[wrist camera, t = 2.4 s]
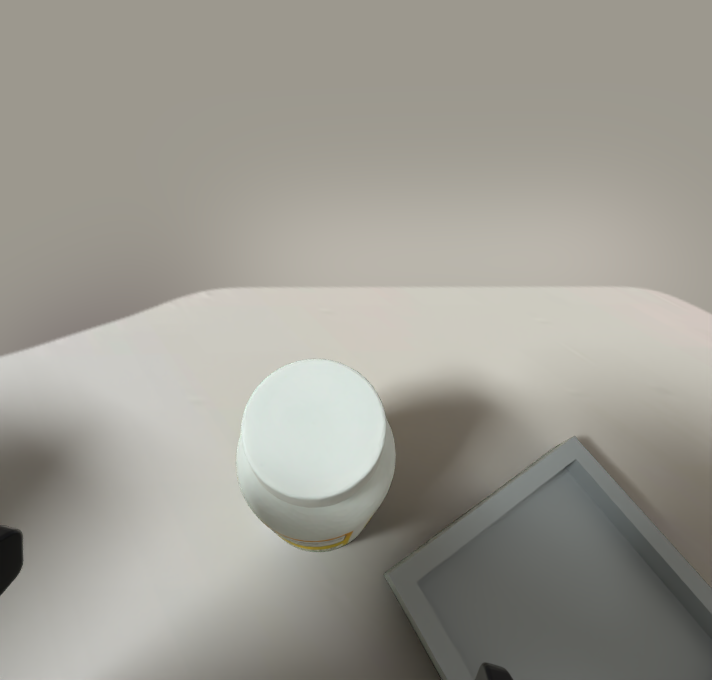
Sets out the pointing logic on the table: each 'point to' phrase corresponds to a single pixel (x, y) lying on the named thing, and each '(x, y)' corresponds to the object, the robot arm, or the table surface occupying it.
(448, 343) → the table surface
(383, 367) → the table surface
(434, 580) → the tray
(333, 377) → the supplement bottle
